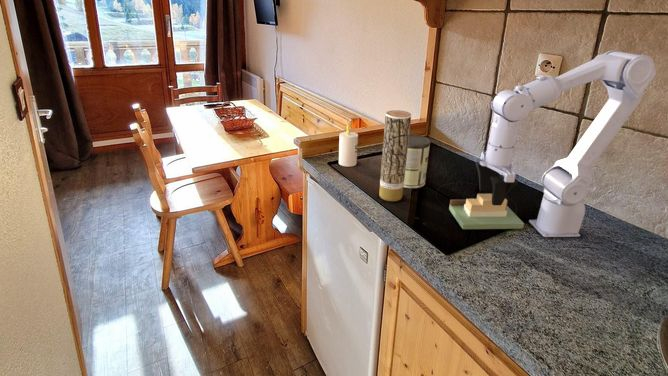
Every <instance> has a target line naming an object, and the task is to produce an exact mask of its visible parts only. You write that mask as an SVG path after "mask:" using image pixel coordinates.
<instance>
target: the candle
mask: <svg viewBox="0 0 668 376" xmlns="http://www.w3.org/2000/svg"><path fill="white" fill-rule="evenodd" d="M338 139H339V141H338V164H339V165H340V166H342V167H349V168H350V167H354V166H356V165H358V151H359V148H358V147H359V144H358V143H359V134H358V133H357V132H355V131H354V132H353V131H351V125H350V123H349V121H346V131H342V132H340V133H339V138H338Z"/></svg>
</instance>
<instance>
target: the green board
mask: <svg viewBox="0 0 668 376" xmlns="http://www.w3.org/2000/svg"><path fill="white" fill-rule="evenodd" d="M466 199H467V198H466ZM466 199H465V198H464V199H463V198H462V199H450V200H449V207H448V210H449V211H450V213H451V215H452V216H453V217H454V219H455V220H456V222H457V223H458V225H459V226H460V228H461V229H462V230H515V229H516V230H519V229H521V230H522V229H523V230H524V227H525V222H523V220H521V218H519V217H518V215H517V214H516V213H515V212H514V211H513V210H512V209H511V208H510V207H509V206H508V203H509V200H508V199H507V198H505V199H506V200H507V204H506V208H505V210H506V211H507V215H506V216H501V217H469V216H468V214H467V213H466V212H465V210H464V204H466Z"/></svg>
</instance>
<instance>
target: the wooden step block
mask: <svg viewBox="0 0 668 376" xmlns="http://www.w3.org/2000/svg"><path fill="white" fill-rule="evenodd" d="M506 199H507V198H505V200H504V201H503V203H502V205H492V193H477V194H476V198H466V204H464V210H465V212H466V213H467V214H468V216H469V217H501V216H506V215H507V211H506V210H505V208H506V204H507V205H508V203H507V200H508V199H507V200H506Z"/></svg>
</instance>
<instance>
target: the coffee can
mask: <svg viewBox="0 0 668 376" xmlns="http://www.w3.org/2000/svg"><path fill="white" fill-rule="evenodd" d="M431 143H432V140H431V139H430V138H428V137H426V136H423V135H419V134H409V141H408V151H407V160H406V169H405V178H404V186H403V188H405V189H420V188H422V187H424V186H425V185H426V179H427V172H428V171H427V169H428V163H429V153H430V146H431Z"/></svg>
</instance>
